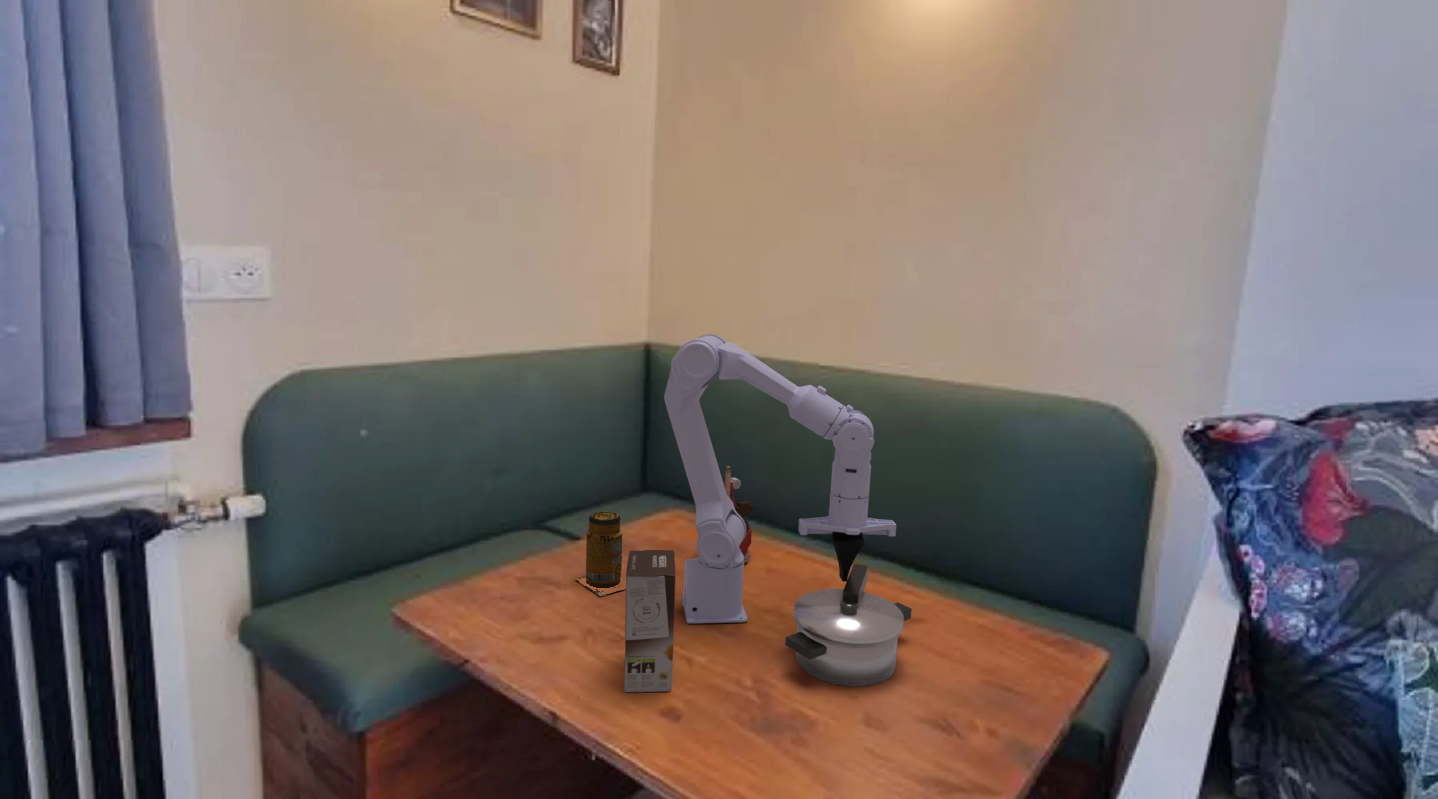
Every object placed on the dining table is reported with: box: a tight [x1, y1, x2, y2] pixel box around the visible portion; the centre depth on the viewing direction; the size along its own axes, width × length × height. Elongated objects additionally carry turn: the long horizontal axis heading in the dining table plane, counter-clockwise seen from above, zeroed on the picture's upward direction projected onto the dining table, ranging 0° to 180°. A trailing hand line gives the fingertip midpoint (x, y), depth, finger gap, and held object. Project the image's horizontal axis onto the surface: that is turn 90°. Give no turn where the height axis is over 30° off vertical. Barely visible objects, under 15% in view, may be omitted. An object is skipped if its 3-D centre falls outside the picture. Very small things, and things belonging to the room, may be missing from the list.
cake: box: [723, 465, 753, 565], centre depth 146 cm, size 11×9×18 cm
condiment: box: [585, 510, 623, 597], centre depth 134 cm, size 7×8×12 cm
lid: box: [793, 563, 905, 646], centre depth 113 cm, size 20×15×4 cm
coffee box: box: [623, 549, 676, 693], centre depth 105 cm, size 9×6×16 cm
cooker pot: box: [784, 602, 913, 687], centre depth 113 cm, size 22×14×6 cm, turn 128°
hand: (843, 578), depth 121 cm, fingers closed
